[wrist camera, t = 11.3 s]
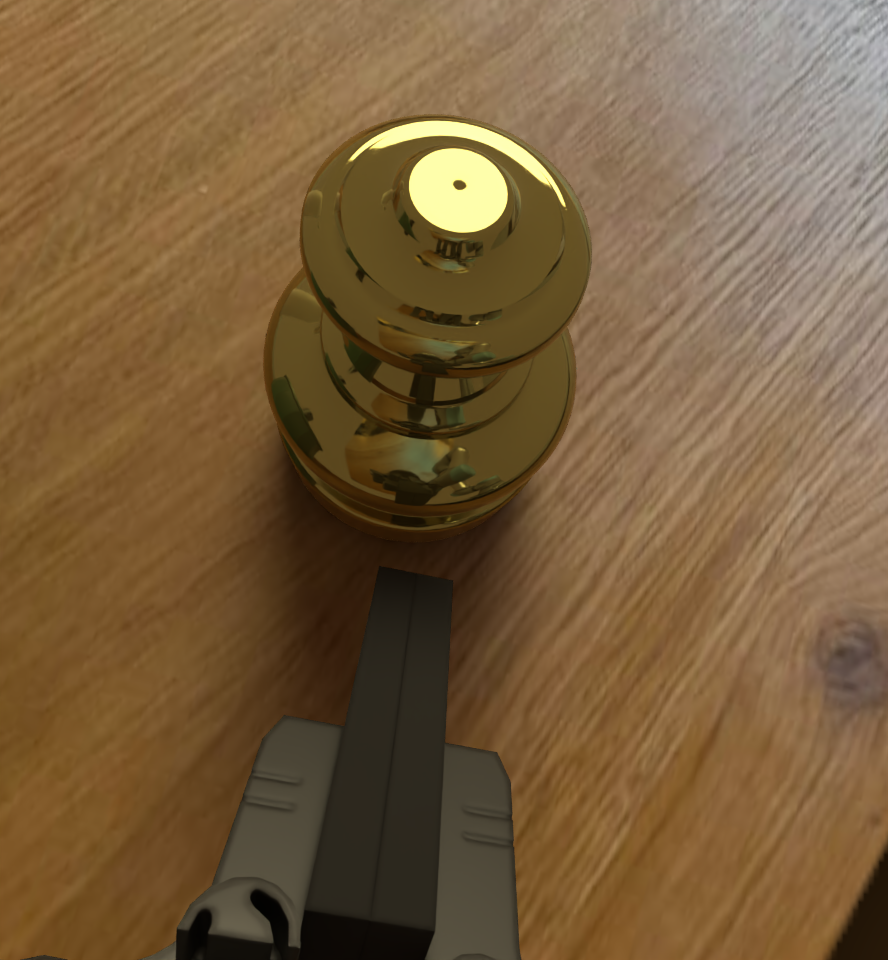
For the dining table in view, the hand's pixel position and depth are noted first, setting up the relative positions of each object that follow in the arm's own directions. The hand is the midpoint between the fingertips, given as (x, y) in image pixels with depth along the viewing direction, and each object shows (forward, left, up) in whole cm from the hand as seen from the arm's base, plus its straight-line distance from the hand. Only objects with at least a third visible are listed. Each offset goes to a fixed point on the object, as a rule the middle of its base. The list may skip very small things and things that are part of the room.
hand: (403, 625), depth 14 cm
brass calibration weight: (+6, +1, -5) cm, 8 cm away
